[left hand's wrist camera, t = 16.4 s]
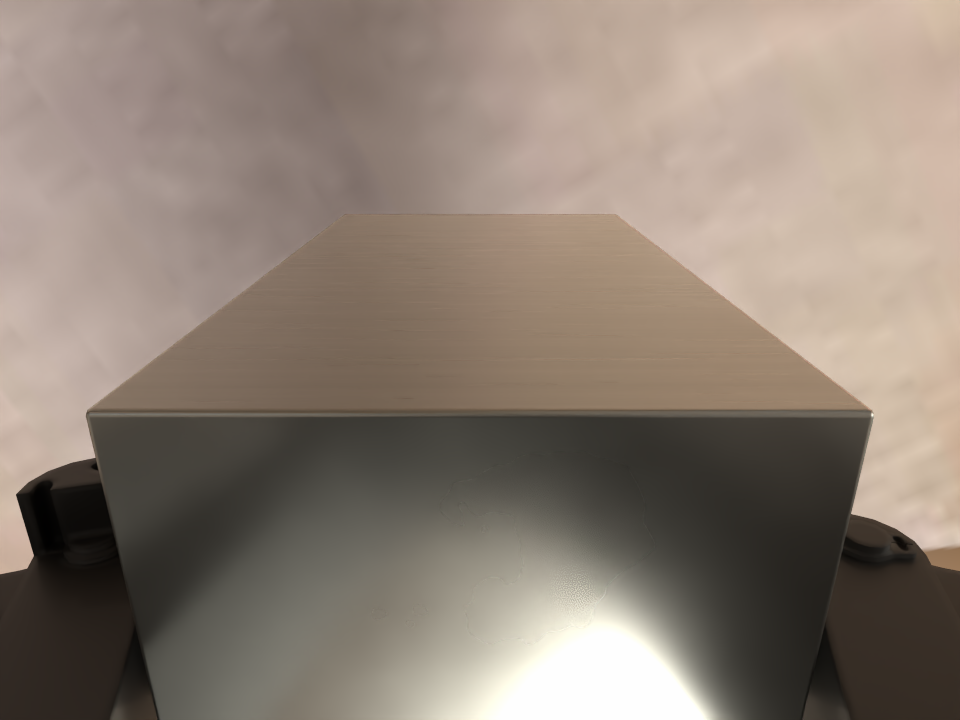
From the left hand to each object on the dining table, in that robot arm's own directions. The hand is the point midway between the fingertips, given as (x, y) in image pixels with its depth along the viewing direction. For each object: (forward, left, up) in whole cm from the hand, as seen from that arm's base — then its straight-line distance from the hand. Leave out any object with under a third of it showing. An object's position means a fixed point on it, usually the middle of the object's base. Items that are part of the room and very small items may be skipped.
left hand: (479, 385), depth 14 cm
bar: (0, +8, -1) cm, 8 cm away
